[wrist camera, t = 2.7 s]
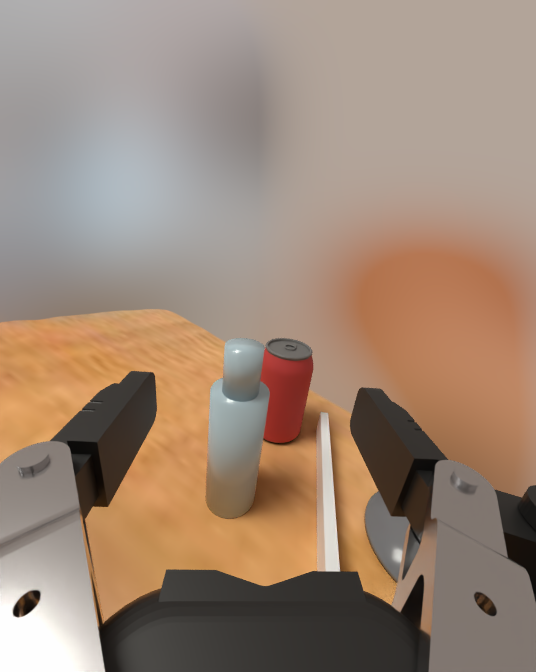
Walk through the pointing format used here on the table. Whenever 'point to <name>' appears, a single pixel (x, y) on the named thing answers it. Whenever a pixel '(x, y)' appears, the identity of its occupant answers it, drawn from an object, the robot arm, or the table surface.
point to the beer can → (286, 387)
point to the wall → (325, 501)
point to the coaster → (385, 534)
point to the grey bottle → (236, 429)
